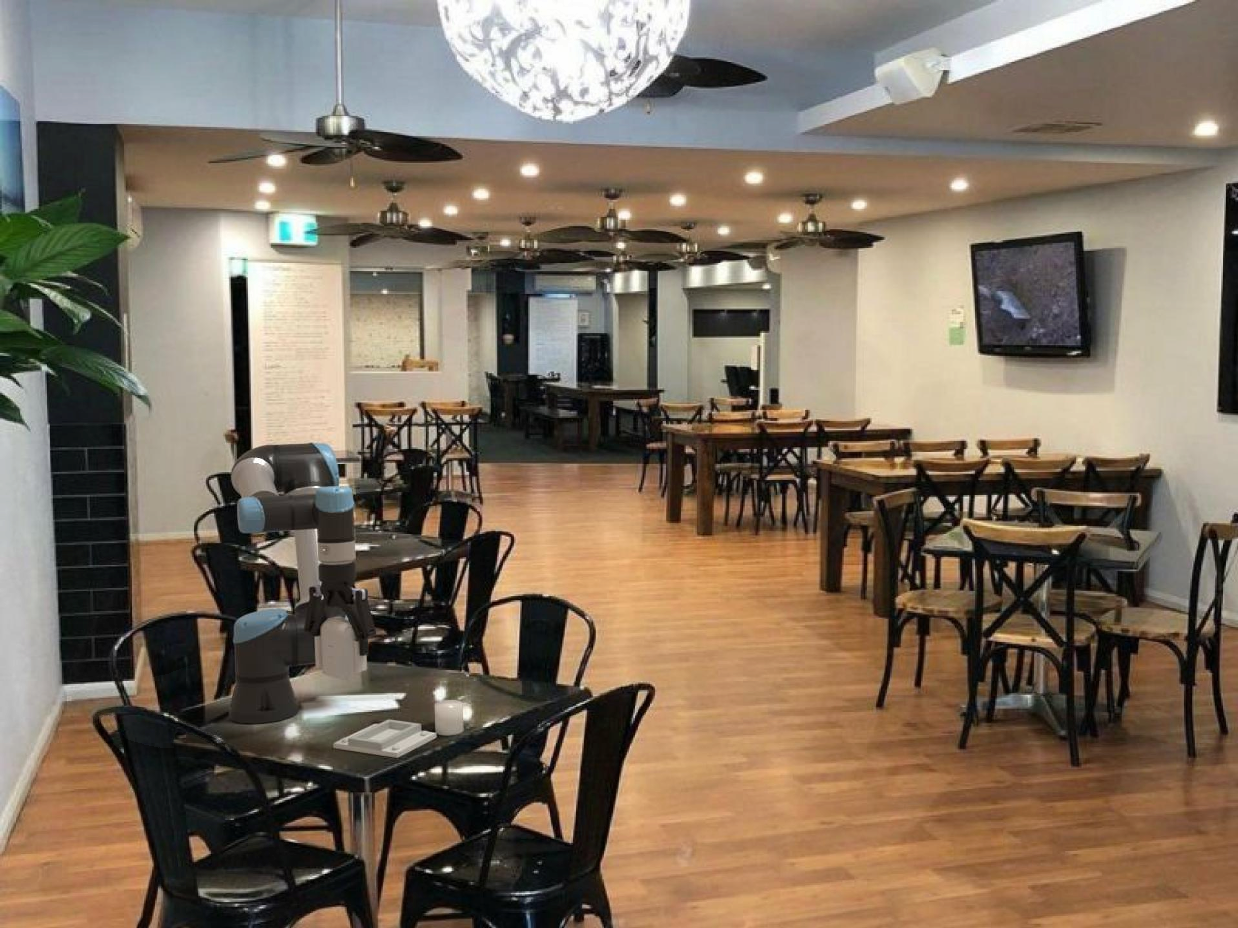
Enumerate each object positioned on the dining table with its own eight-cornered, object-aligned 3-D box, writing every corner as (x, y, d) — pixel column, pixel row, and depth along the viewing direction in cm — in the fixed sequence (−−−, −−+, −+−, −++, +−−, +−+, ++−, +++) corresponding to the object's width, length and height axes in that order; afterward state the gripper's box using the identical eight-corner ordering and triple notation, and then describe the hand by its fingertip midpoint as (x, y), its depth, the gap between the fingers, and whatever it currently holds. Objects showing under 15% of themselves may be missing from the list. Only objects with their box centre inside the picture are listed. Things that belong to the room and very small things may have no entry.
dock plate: (333, 747, 247) (332, 736, 246) (374, 728, 259) (374, 717, 259) (397, 757, 240) (396, 745, 240) (436, 737, 252) (436, 725, 252)
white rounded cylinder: (429, 733, 256) (429, 705, 255) (445, 725, 261) (444, 698, 260) (453, 736, 253) (452, 709, 252) (468, 728, 258) (468, 701, 258)
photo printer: (318, 674, 249) (317, 615, 248) (337, 670, 252) (335, 612, 251) (344, 683, 242) (342, 622, 241) (363, 679, 245) (361, 619, 244)
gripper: (282, 561, 247) (287, 667, 249) (367, 567, 237) (371, 677, 238) (308, 556, 254) (312, 659, 255) (391, 561, 243) (395, 669, 245)
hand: (341, 668), depth 247 cm, fingers closed on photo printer, 10 cm apart
